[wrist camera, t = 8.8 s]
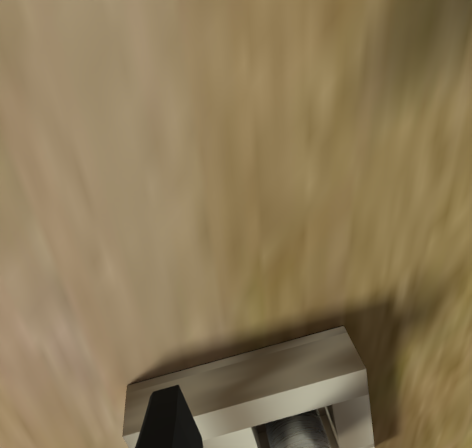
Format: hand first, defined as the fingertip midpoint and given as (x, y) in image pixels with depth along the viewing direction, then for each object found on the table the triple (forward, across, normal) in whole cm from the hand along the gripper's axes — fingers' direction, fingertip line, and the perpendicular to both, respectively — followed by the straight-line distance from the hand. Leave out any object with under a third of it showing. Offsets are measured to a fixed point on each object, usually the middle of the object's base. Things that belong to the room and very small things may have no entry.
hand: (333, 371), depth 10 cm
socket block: (+10, +3, +15) cm, 18 cm away
